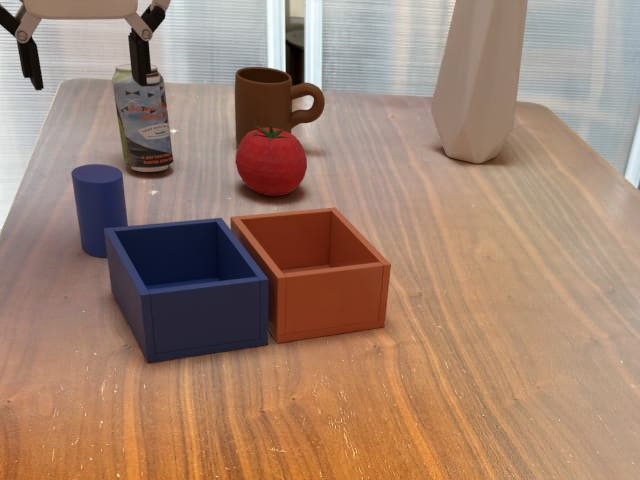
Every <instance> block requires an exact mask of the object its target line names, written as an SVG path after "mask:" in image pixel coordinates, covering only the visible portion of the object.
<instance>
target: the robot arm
mask: <svg viewBox="0 0 640 480" xmlns="http://www.w3.org/2000/svg"><path fill="white" fill-rule="evenodd" d="M18 1H19V2H20V3H22V4H21V6H20V7H19V8H18V10H17V12H16V13H15V14H14V15H13V14H12V13H11V12H10V11H8V10H7V9H6V8H5V7H4V5H2V3H0V26H1V27H2V28H3V29H5V30H6V31H7V32H8V33H9V34H10V35H11V36H12V37H14V38H15V40H16V45H17V50H18V57H19V63H20V68H21V73H22V76H23V78H24V79H29V80H30V83H31V85H32V86H33V88H34V90H35V91H43V89H44V88H45V86H44V81H43V74H42V67H41V62H40V56H39V55H40V54H39V50H38V49H39V48H38V45H37V43H36V41H35V39H34V38H33V34H34V33H35V32H36V29H37V28H38V26H39V25H40V23H41V21H42V20H53V21H57V20H58V21H59V20H60V21H63V20H65V21H66V20H67V21H68V20H70V21H72V20H73V21H75V20H76V21H77V20H78V21H79V20H80V21H82V20H83V21H85V20H86V21H87V20H88V21H89V20H93V21H94V20H123V19H124V21H125V22H126V23H127V24H128V25H129V26H130V27H131V28H130V32H129V34H128V35H127V39H128V40H127V41H128V50H129V60H130V64H131V72H132V77H133V78H134V79H135V81H136V82H137V83H138V84H139V85H141V87H143V86H147V77H146V74H151V65H152V63H151V52H150V41H151V40H152V39H153V37H154V34H155V32H156V30H157V29H158V28H159V26H160V25H161V24H163V22H164V21H165V19H166V15H167V14H166V13H167V10H168V9H169V7H170V3H171V2H172V0H151V3H150V4H149V5H148V6H147V7H146V9H145V10H144V11H143V12H142V14H141V15H140V14H138V12H137V11H138V6H139V0H18Z"/></svg>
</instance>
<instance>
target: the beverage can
mask: <svg viewBox="0 0 640 480" xmlns="http://www.w3.org/2000/svg"><path fill="white" fill-rule="evenodd" d="M114 68H115V71H114V73H113V75H112V79H111V82H112V88H113V97H114V103H115V109H116V116H117V123H118V130H119V136H120V143H121V149H122V156H123V163H124V164H125V165H127V166H129V167H130V168H131V170H132V171H137V172H143V173H144V172H145V173H149V172H150V173H152V172H153V173H154V172H161V171H165V170H168V168H169V165H171V164H172V163H173V162H174V156H173V155H174V154H173V146H172V137H171V129H170V121H169V113H168V105H167V95H166V87H165V80H164V77H163V76H162V74H161V72H160V71H159V70H158V66H157V65H155V64H151V74H146V77H147V86H143V87H141V85H139V84H138V83H137V82H136V81H135V79H134V78H133V77H132V72H131V63H125V64H123V63H122V64H117V65H115V67H114Z"/></svg>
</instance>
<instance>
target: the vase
mask: <svg viewBox="0 0 640 480" xmlns="http://www.w3.org/2000/svg"><path fill="white" fill-rule="evenodd" d="M528 1H529V0H455V3H454V6H453V11H452V14H451V15H452V16H451V19H450V23H449V28H448V31H447V37H446V40H445V45H444V49H443V54H442V57H441V61H440V66H439V70H438V74H437V78H436V83H435V87H434V91H433V96H432V100H431V106H430V113H431V116H432V120H433V122H434V126H435V128H436V130H437V133H438V137H439V139H440V142H441V144H442V148H443V150H444V153H445V155H446V157H449V158H451V159H455V160H459V161H464V162H468V163H471V164H472V163H473V164H478V165H479V164H482V163H485V162H488V161H490V160H492V159H494V158H496V157H497V156H498V155H499V153H500V152H501V150H502V148H503V146H504V144H505V143H506V141H507V140H508V138H509V136H510V135H511V133H512V132H513V128H514V124H515V117H516V109H517V100H518V90H519V82H520V81H519V80H520V72H521V64H522V55H523V47H524V37H525V30H526V29H525V27H526V19H527V18H526V17H527V10H528V3H529V2H528Z"/></svg>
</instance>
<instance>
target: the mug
mask: <svg viewBox="0 0 640 480" xmlns="http://www.w3.org/2000/svg"><path fill="white" fill-rule="evenodd" d="M234 80H235V81H234V117H235V118H234V120H235V121H234V123H235V143H236V147H238V146H239V144H240V142H241V140H242V139H243V138H244V136H245V135H246V134H247V133H249V132H250V131H253V130H256V129H260V128H258V127H256V126H259V127H261V128H269V126H270V125H272V127H273V128H277V129H281V130H282V129H285V130H284V131H286V132H288V133H291V134H292V129H294V128H295V127H297V126H299V125H301V124H310V123H313V122H315V121H317V120H318V119H319V118H320V117H321V115H322V114H323V113H324V110H325V105H326V101H325V95H324V92H323V91H322V89H321V88H320V87H319V86H317V85H315V84H314V83H311V82H302V83H299V84H296V85H293V78H292V76H291V74H289V73H288V72H286V71H284V70H282V69H281V70H280V69H276V68H272V67H265V66H248V67H242V68H239V69H238V70H236V72H235V75H234ZM307 96H310V97H312V98H313V102H312V105H311V107H310V108H307V109H297V110H293V101H294V100H297V99H300V98H303V97H307ZM255 125H256V126H255Z"/></svg>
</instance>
